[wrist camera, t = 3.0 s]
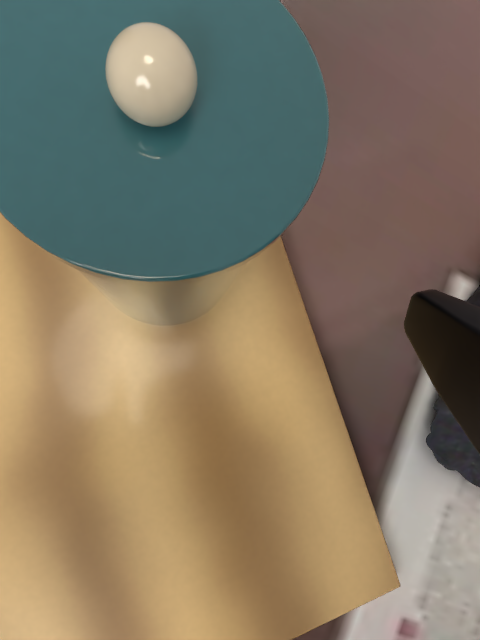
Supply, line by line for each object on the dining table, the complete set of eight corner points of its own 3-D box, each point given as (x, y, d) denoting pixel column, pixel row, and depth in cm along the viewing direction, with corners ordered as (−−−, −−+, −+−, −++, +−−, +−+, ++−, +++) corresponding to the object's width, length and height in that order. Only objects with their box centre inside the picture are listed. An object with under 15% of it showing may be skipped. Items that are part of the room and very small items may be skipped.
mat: (238, 125, 21) (240, 118, 21) (394, 580, 20) (401, 586, 19) (-312, 251, 17) (-329, 247, 16) (-154, 846, 16) (-167, 865, 15)
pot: (256, 210, 20) (399, -53, 7) (217, 349, 19) (305, 319, 6) (113, 163, 19) (-3, -228, 7) (64, 306, 18) (-186, 171, 6)
